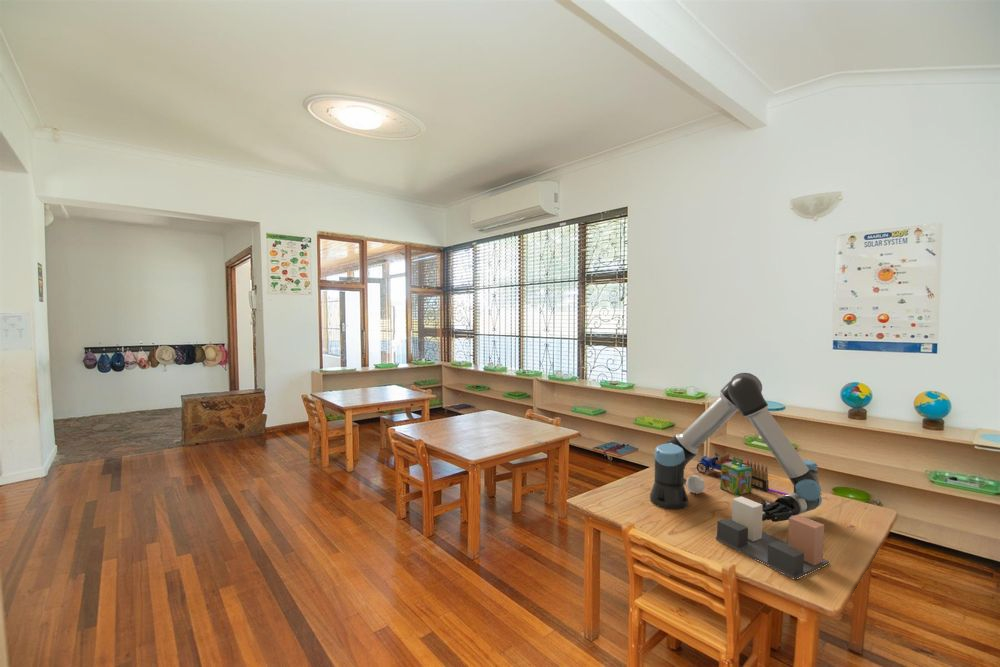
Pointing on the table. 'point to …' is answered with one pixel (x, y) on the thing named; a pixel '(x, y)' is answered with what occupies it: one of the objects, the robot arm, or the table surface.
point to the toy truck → (714, 463)
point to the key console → (765, 549)
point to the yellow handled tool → (777, 492)
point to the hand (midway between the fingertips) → (751, 519)
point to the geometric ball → (695, 484)
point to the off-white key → (748, 516)
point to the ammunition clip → (759, 476)
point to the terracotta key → (807, 538)
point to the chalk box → (736, 477)
